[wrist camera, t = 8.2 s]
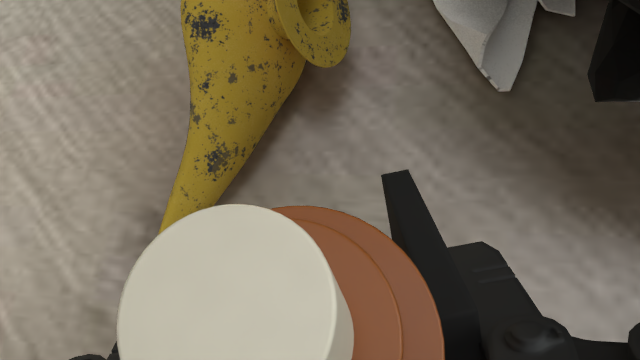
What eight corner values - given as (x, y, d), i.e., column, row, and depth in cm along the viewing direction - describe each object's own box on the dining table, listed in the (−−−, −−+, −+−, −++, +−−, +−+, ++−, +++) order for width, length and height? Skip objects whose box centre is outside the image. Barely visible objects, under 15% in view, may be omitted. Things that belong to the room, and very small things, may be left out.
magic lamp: (345, 283, 21) (167, 281, 28) (370, -91, 26) (215, -18, 32) (216, 255, 16) (34, 260, 22) (279, -206, 21) (115, -93, 27)
